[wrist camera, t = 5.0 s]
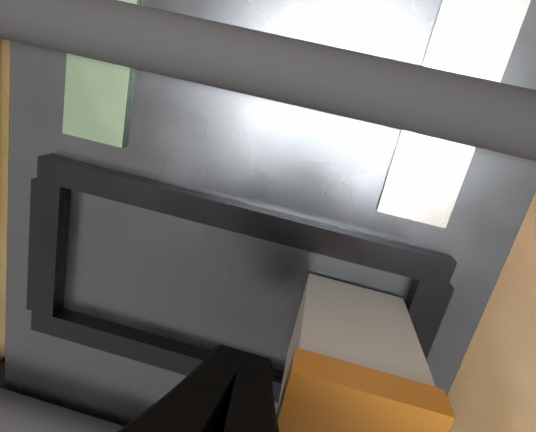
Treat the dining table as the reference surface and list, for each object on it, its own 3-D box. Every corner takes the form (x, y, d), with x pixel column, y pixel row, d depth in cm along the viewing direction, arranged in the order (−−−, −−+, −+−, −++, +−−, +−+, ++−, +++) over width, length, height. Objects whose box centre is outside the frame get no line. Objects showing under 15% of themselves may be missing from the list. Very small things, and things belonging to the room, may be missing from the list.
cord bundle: (423, 513, 16) (444, 602, 13) (-36, 370, 18) (-107, 422, 15) (612, 106, 11) (709, 106, 8) (-44, -35, 13) (-151, -75, 10)
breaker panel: (356, 559, 18) (359, 617, 16) (27, 452, 19) (-9, 493, 17) (607, -51, 10) (673, -87, 8) (52, -152, 12) (-4, -203, 10)
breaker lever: (376, 379, 13) (402, 534, 8) (284, 353, 13) (258, 489, 9) (407, 296, 12) (455, 418, 7) (306, 269, 13) (291, 371, 8)
